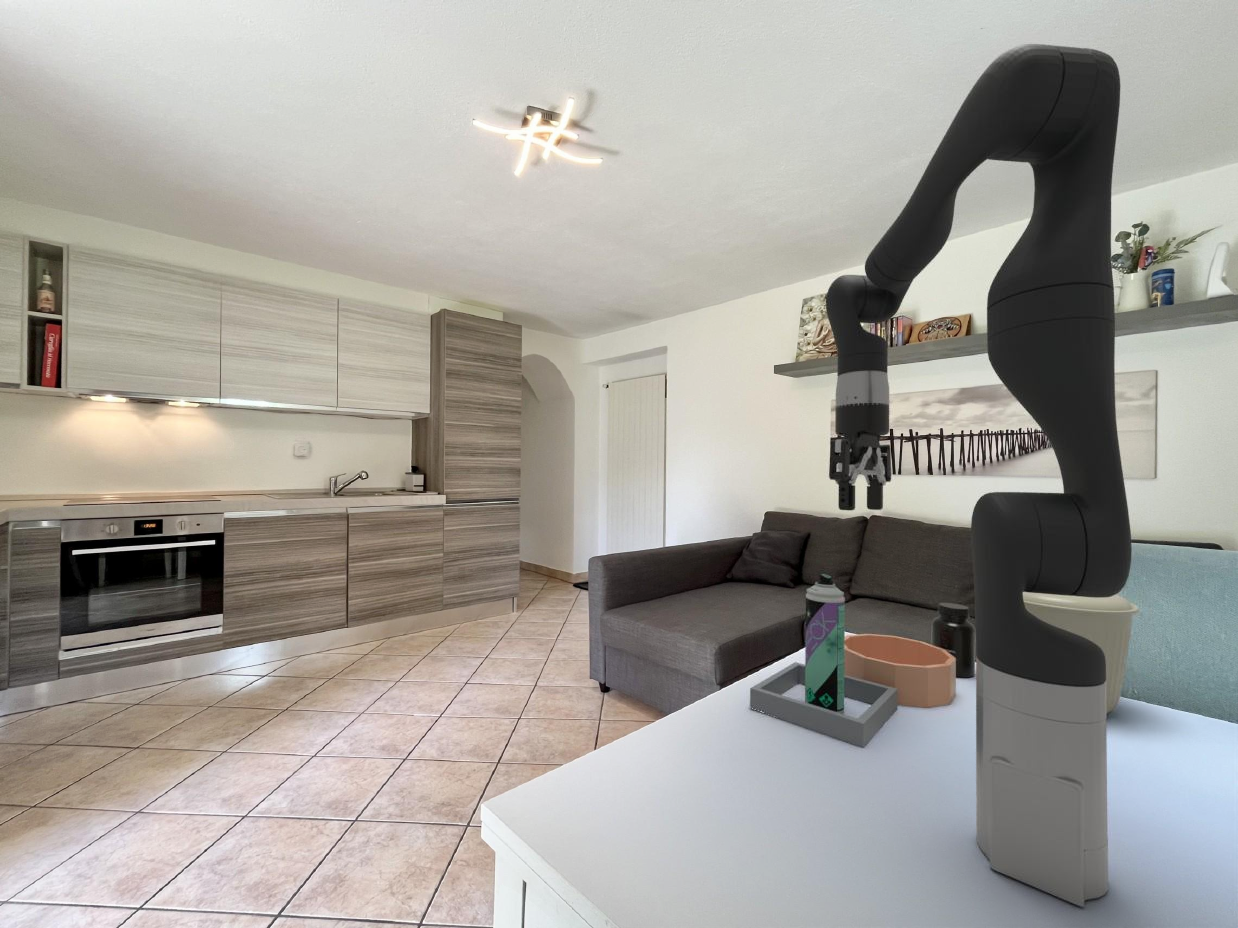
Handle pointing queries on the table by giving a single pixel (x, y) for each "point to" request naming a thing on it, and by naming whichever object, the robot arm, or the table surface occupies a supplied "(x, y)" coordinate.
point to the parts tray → (819, 718)
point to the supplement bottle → (955, 636)
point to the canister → (1092, 628)
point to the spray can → (825, 645)
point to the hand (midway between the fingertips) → (861, 509)
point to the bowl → (903, 668)
